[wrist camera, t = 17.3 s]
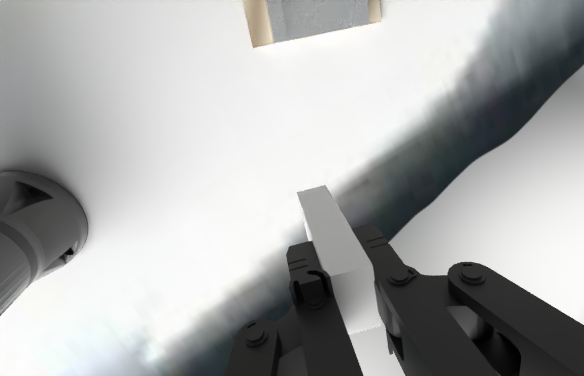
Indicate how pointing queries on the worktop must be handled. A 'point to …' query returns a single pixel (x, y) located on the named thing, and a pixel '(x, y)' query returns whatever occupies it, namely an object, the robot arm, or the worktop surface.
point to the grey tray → (313, 17)
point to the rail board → (261, 26)
